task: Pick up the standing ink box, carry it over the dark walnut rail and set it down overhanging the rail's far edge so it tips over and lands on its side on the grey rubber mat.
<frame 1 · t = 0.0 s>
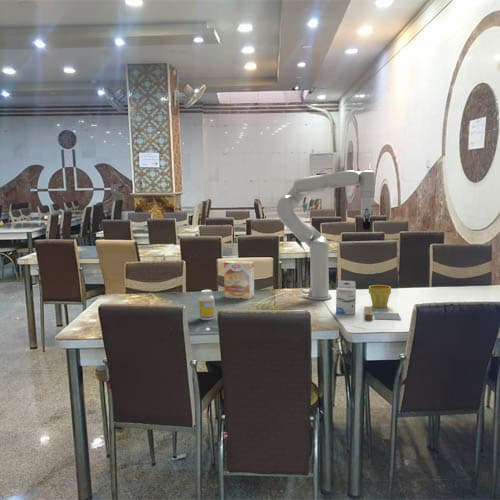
hand: (366, 228, 233), 37 cm above the table, tool pointing down, fingers open, 9 cm apart
coffeecake box: (239, 297, 248), on the table
mat: (386, 316, 203), on the table
ink box: (345, 313, 211), on the table
supplement bottle: (207, 318, 205), on the table
rail: (368, 315, 204), on the table
plant pot: (379, 306, 222), on the table
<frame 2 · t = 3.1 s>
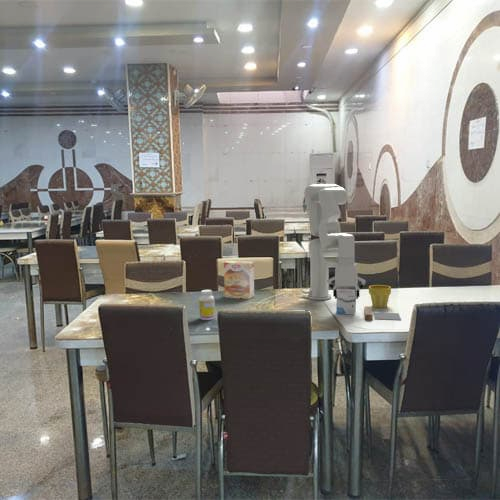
hand: (346, 298, 209), 7 cm above the table, tool pointing down, fingers open, 9 cm apart
nothing on the table moved.
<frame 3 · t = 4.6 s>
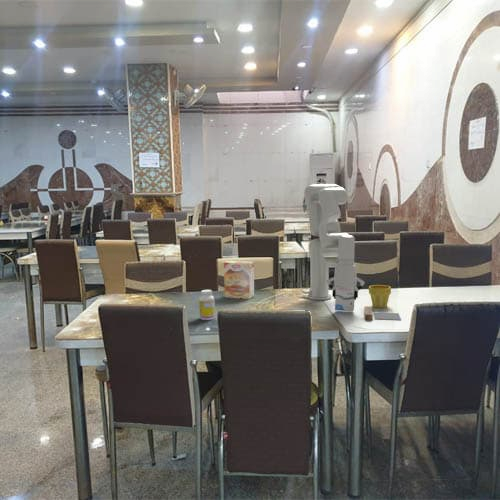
hand: (345, 298, 211), 7 cm above the table, tool pointing down, fingers closed on ink box, 9 cm apart
ink box: (344, 310, 212), point 1 cm above the table, touching gripper
everything else where it was.
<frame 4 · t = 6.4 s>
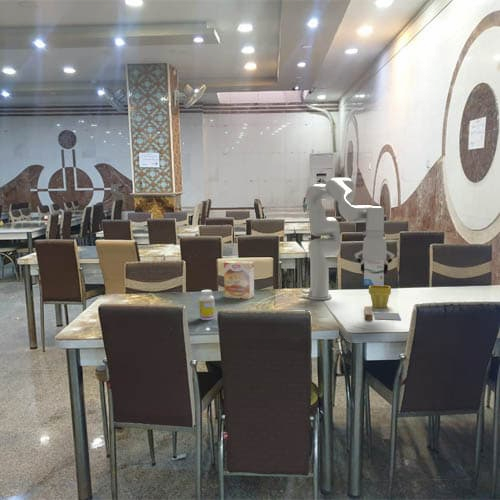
hand: (374, 273, 202), 20 cm above the table, tool pointing down, fingers closed on ink box, 9 cm apart
ink box: (373, 285, 203), point 14 cm above the table, touching gripper
everything else where it was.
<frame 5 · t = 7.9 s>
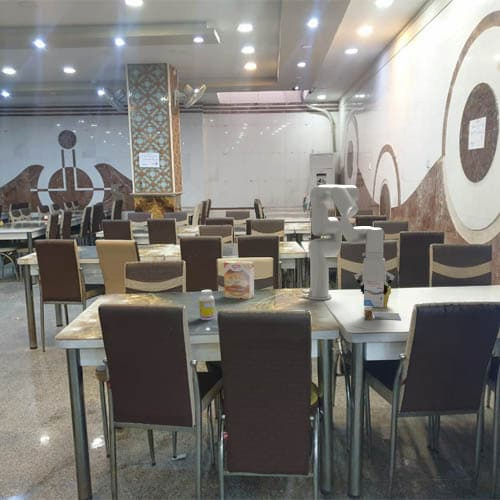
hand: (374, 293, 203), 10 cm above the table, tool pointing down, fingers closed on ink box, 9 cm apart
ink box: (373, 306, 204), point 5 cm above the table, touching gripper
everything else where it was.
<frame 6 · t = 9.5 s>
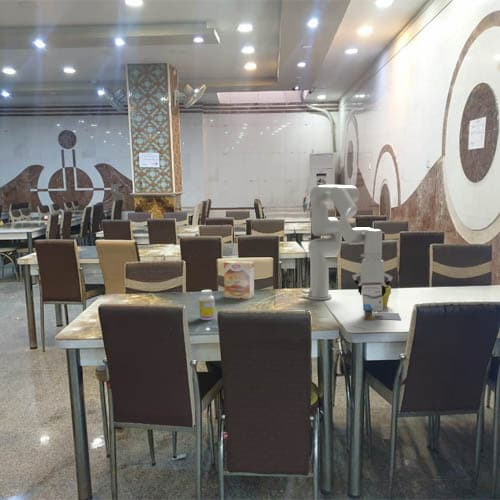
hand: (371, 294, 203), 10 cm above the table, tool pointing down
ink box: (373, 310, 204), point 3 cm above the table, touching gripper
everything else where it was.
when the fingers open (10 cm above the table, at t = 9.5 s): ink box moves 3 cm, resting on mat.
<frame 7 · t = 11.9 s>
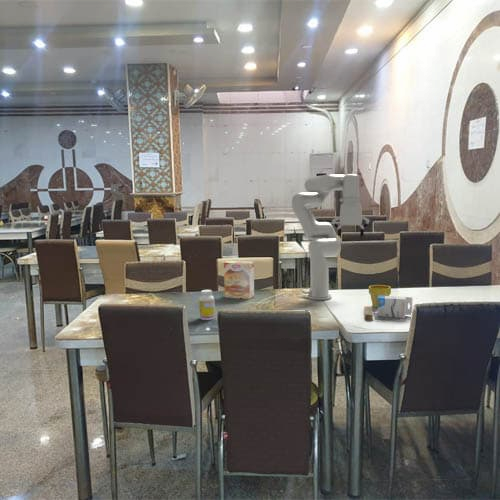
hand: (350, 237, 214), 34 cm above the table, tool pointing down, fingers open, 9 cm apart
ink box: (377, 305, 204), point 5 cm above the table, touching mat
everything else where it was.
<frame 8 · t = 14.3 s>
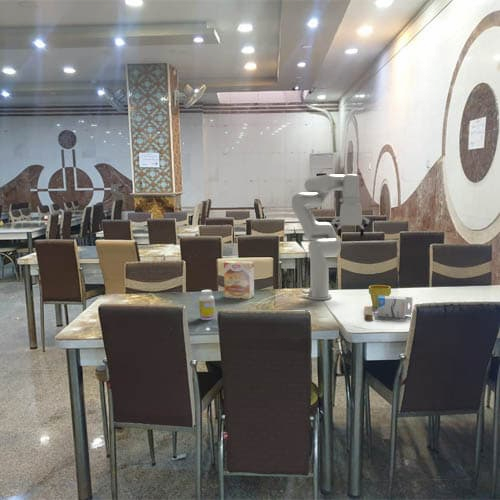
hand: (350, 237, 214), 34 cm above the table, tool pointing down, fingers open, 9 cm apart
nothing on the table moved.
at the end: ink box tilted 90°; ink box inside the target area (6.7 cm from its centre), point 4.5 cm above the table; the gripper is holding nothing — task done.
